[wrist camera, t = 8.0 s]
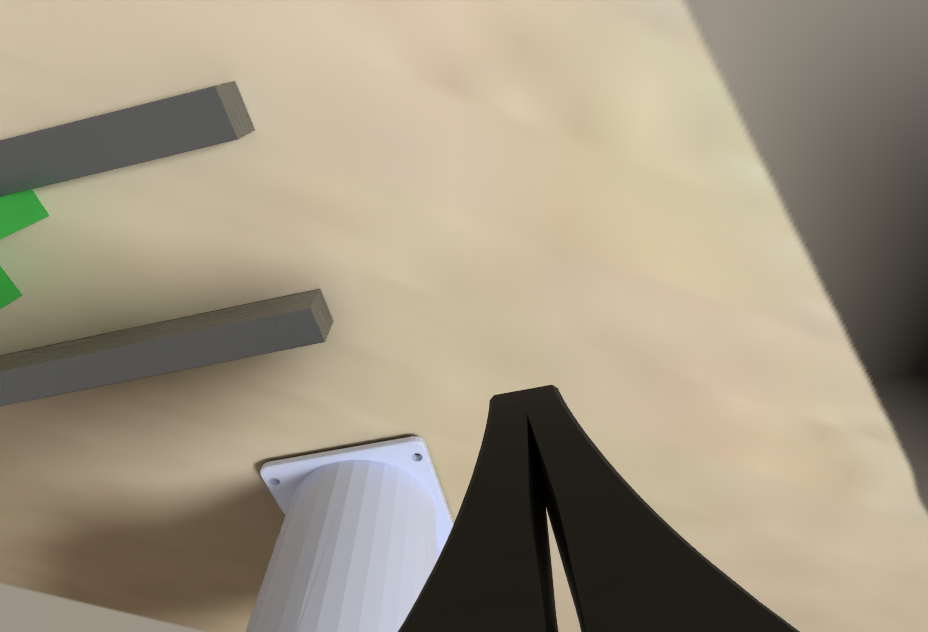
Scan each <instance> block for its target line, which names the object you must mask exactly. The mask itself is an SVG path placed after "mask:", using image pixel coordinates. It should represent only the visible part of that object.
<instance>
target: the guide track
mask: <svg viewBox="0 0 928 632" xmlns="http://www.w3.org/2000/svg"><path fill="white" fill-rule="evenodd" d="M254 130H255V129H254V127H253V124H252V122H251V119H250V117H249V115H248V112H247V110H246V107H245V105H244V102H243V100H242V97H241V95H240V93H239V90H238V88H237V85H236V83H235V81H233V82H229V83H225V84H221V85H218V86H214V87H210V88H206V89H202V90H198V91H194V92H190V93H186V94H182V95H178V96H174V97H170V98H166V99H162V100H158V101H154V102H151V103H147V104H143V105H139V106H135V107H131V108H127V109H123V110H119V111H115V112H111V113H107V114H103V115H99V116H95V117H91V118H87V119H84V120H80V121H76V122H72V123H68V124H64V125H60V126H56V127H52V128H48V129H44V130H40V131H36V132H32V133H28V134H24V135H21V136H17V137H13V138H9V139H5V140H1V141H0V197H1V196H5V195H9V194H14V193H18V192H22V191H26V190H30V189H34V188H38V187H43V186H47V185H51V184H55V183H59V182H63V181H67V180H71V179H76V178H80V177H84V176H88V175H92V174H96V173H100V172H105V171H109V170H113V169H117V168H121V167H125V166H129V165H133V164H138V163H142V162H146V161H150V160H154V159H158V158H162V157H167V156H171V155H175V154H179V153H183V152H187V151H191V150H195V149H200V148H204V147H208V146H212V145H216V144H220V143H224V142H229V141H233V140H237V139H239V138H241V137H243V136H245V135H247V134H249V133H251V132H252V131H254ZM332 323H333V320H332V317H331V315H330V312H329V310H328V307H327V305H326V302H325V300H324V298H323V295H322V293H321V290H320V289H318V290H313V291H308V292H303V293H299V294H294V295H289V296H284V297H279V298H275V299H270V300H265V301H260V302H255V303H251V304H246V305H241V306H236V307H231V308H227V309H222V310H217V311H212V312H207V313H203V314H198V315H193V316H188V317H184V318H179V319H174V320H169V321H164V322H160V323H155V324H150V325H145V326H140V327H136V328H131V329H126V330H121V331H116V332H112V333H107V334H102V335H97V336H92V337H88V338H83V339H78V340H73V341H68V342H64V343H59V344H54V345H49V346H44V347H40V348H35V349H30V350H25V351H20V352H16V353H11V354H6V355H1V356H0V406H3V405H8V404H13V403H19V402H24V401H29V400H34V399H39V398H44V397H49V396H54V395H59V394H64V393H69V392H74V391H79V390H84V389H89V388H94V387H99V386H104V385H110V384H115V383H120V382H125V381H130V380H135V379H140V378H145V377H150V376H155V375H160V374H165V373H170V372H175V371H180V370H185V369H190V368H195V367H200V366H206V365H211V364H216V363H221V362H226V361H231V360H236V359H241V358H246V357H251V356H256V355H261V354H266V353H271V352H276V351H281V350H286V349H291V348H296V347H302V346H307V345H312V344H317V343H322V342H325V340H326V338H327V336H328V333H329V331H330V328H331V326H332Z"/></svg>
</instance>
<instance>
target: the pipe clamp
mask: <svg viewBox="0 0 928 632" xmlns="http://www.w3.org/2000/svg"><path fill="white" fill-rule="evenodd" d="M48 216H49V215H48V213H47V211H46V210H45V208H44V207H43V205H42V204H41V202H40V201H39V199H38V198H37V196H36V195H35V193H34V192H33V190H32V189H30V190H26V191H22V192H18V193H14V194H9V195H5V196H1V197H0V239H1V238H3V237H6V236H8V235H10V234H12V233H14V232H16V231H18V230H20V229H23V228H25V227H27V226H29V225H31V224H33V223H35V222H37V221H39V220H42V219H44V218H46V217H48ZM20 296H22V294H21V293H20V292H19V290H18V289H17V288H16V286H15V285H14V284H13V282H12V281H11V280H10V278H9V277H8V276H7V274H6V273H5V272H4V270H3V269H2V268H1V266H0V309H1V308H3V307H4V306H6V305H8V304H9V303H11V302H12V301H14V300H16V299H17V298H19V297H20Z"/></svg>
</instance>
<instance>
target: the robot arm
mask: <svg viewBox="0 0 928 632" xmlns="http://www.w3.org/2000/svg"><path fill="white" fill-rule="evenodd" d="M415 453H419V454H421V455H415ZM260 475H261V477H262V478H263V480H264V482H265V483H266V485H267V487H268V488H269V490H270V492H271V493H272V495H273V497H274V498H275V500H276V502H277V503H278V505H279V507H280V508H281V510H282V512H283V513H284V515H285V518H284V521H283V524H282V527H281V530H280V533H279V536H278V539H277V541H276V544H275V547H274V550H273V553H272V556H271V559H270V562H269V565H268V568H267V570H266V573H265V576H264V579H263V582H262V585H261V588H260V591H259V594H258V597H257V599H256V602H255V605H254V608H253V611H252V614H251V617H250V620H249V623H248V626H247V629H246V631H245V632H558V626H557V619H556V610H555V599H554V588H553V578H552V567H551V556H550V546H549V535H548V525H547V514H546V508H547V512H548V515H549V518H550V522H551V525H552V529H553V532H554V536H555V539H556V543H557V546H558V550H559V553H560V556H561V560H562V563H563V567H564V570H565V574H566V577H567V581H568V584H569V587H570V591H571V594H572V598H573V601H574V605H575V608H576V612H577V615H578V619H579V623H580V627H581V631H582V632H799V631H798V630H797V629H795V628H794V627H793V626H791V625H790V624H789V623H787V622H786V621H785V620H783V619H782V618H781V617H779V616H778V615H777V614H775V613H774V612H773V611H771V610H770V609H769V608H767V607H766V606H764V605H763V604H762V603H760V602H759V601H758V600H757V599H755V598H754V597H753V596H752V595H751V594H749V593H748V592H747V591H746V590H744V589H743V588H742V587H741V586H739V585H738V584H737V583H736V582H735V581H733V580H732V579H731V578H730V577H728V576H727V575H726V574H725V573H723V572H722V571H721V570H720V569H718V568H717V567H716V566H715V565H714V564H712V563H711V562H710V561H709V560H707V559H706V558H705V557H704V556H703V555H701V554H700V553H699V552H698V551H697V550H696V549H695V548H694V547H692V546H691V545H690V544H689V543H688V542H687V541H686V540H685V539H684V538H682V537H681V536H680V535H679V534H678V533H677V532H676V531H675V530H674V529H673V528H672V527H670V526H669V525H668V524H667V523H666V522H665V521H664V520H663V519H662V518H661V517H660V516H659V515H658V514H657V513H656V512H655V511H654V510H653V509H652V508H651V507H650V506H649V505H648V504H647V503H646V502H645V501H644V500H643V499H642V498H641V497H640V496H639V495H638V494H637V493H636V492H635V491H634V490H633V489H632V487H631V486H630V485H629V484H628V483H627V482H626V481H625V480H624V479H623V478H622V477H621V475H620V474H619V473H618V472H617V471H616V470H615V469H614V467H613V466H612V465H611V464H610V463H609V462H608V460H607V459H606V458H605V457H604V456H603V454H602V453H601V452H600V451H599V449H598V448H597V447H596V446H595V444H594V443H593V442H592V441H591V439H590V438H589V437H588V435H587V434H586V433H585V431H584V430H583V429H582V427H581V426H580V424H579V423H578V422H577V420H576V419H575V417H574V416H573V414H572V413H571V411H570V410H569V408H568V406H567V405H566V403H565V401H564V400H563V398H562V396H561V394H560V392H559V390H558V388H556V387H555V386H553V385H548V386H543V387H537V388H532V389H526V390H520V391H515V392H509V393H504V394H498V395H494V396H493V397H492V398H491V400H490V405H489V413H488V419H487V424H486V429H485V433H484V437H483V441H482V445H481V449H480V452H479V455H478V459H477V462H476V465H475V468H474V472H473V475H472V478H471V481H470V484H469V486H468V489H467V492H466V494H465V497H464V500H463V502H462V505H461V507H460V510H459V513H458V515H457V518H456V520H455V522H454V523H453V520H452V518H451V515H450V512H449V509H448V506H447V503H446V501H445V498H444V495H443V492H442V489H441V486H440V483H439V481H438V478H437V475H436V472H435V469H434V466H433V464H432V461H431V458H430V455H429V452H428V449H427V447H426V444H425V442H424V440H423V439H422V438H420V437H417V436H412V437H406V438H400V439H395V440H389V441H383V442H378V443H372V444H366V445H361V446H355V447H349V448H344V449H338V450H332V451H327V452H321V453H315V454H309V455H304V456H298V457H292V458H287V459H281V460H275V461H270V462H266V463H264V464H263V466H262V468H261V470H260ZM275 478H276V479H275Z"/></svg>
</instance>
